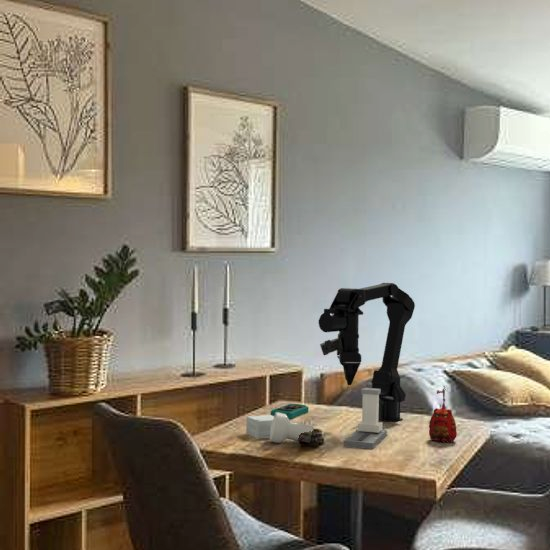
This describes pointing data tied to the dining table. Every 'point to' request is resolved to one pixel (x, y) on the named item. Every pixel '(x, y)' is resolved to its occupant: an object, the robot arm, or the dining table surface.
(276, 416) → the spotlight
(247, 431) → the small box
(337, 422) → the dining table surface
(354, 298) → the robot arm
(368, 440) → the fader console
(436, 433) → the red clay folk toy
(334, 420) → the dining table surface
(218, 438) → the dining table surface
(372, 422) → the fader tab
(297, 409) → the digital multimeter
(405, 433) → the dining table surface
